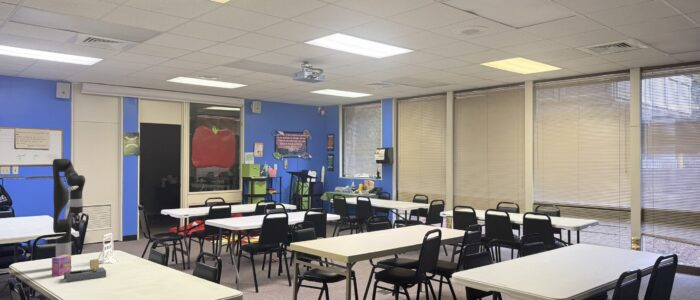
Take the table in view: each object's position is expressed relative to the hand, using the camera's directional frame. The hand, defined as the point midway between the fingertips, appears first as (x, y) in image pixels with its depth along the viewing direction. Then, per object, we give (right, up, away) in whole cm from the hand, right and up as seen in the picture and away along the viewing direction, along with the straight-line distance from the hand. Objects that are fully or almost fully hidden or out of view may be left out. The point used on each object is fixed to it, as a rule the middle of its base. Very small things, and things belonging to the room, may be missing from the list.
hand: (76, 230), depth 319 cm
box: (-8, -28, -3) cm, 30 cm away
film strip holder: (+4, -29, +36) cm, 46 cm away
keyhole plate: (+13, -28, -12) cm, 33 cm away
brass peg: (+17, -28, -9) cm, 34 cm away
